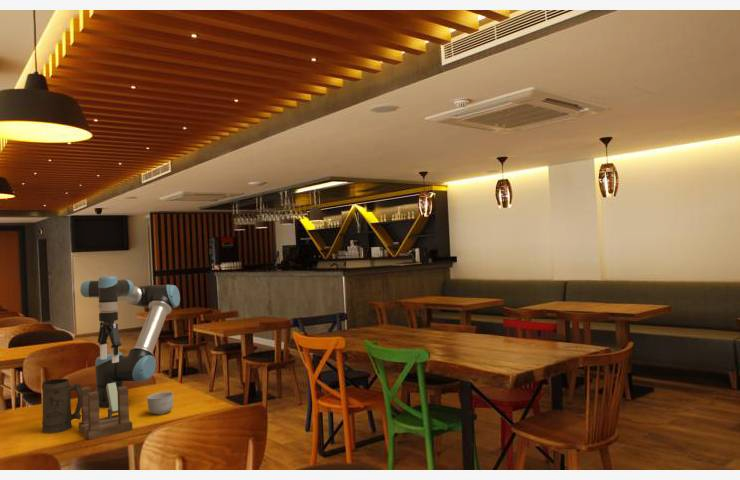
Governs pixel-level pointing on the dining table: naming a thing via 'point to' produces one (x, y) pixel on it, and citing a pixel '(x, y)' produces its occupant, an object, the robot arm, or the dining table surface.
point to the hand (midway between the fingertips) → (109, 360)
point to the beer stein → (59, 405)
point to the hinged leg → (112, 397)
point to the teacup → (160, 402)
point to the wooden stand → (106, 425)
